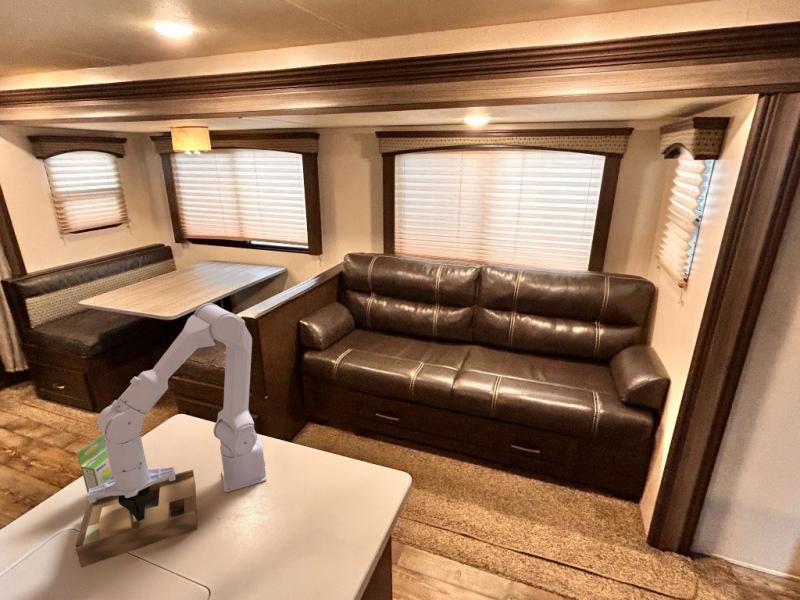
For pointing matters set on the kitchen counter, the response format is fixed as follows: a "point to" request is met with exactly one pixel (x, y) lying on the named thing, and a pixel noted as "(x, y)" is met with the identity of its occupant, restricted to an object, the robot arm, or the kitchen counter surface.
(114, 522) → the maple block
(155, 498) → the box
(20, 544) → the kitchen counter surface
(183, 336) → the robot arm
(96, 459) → the ink box
